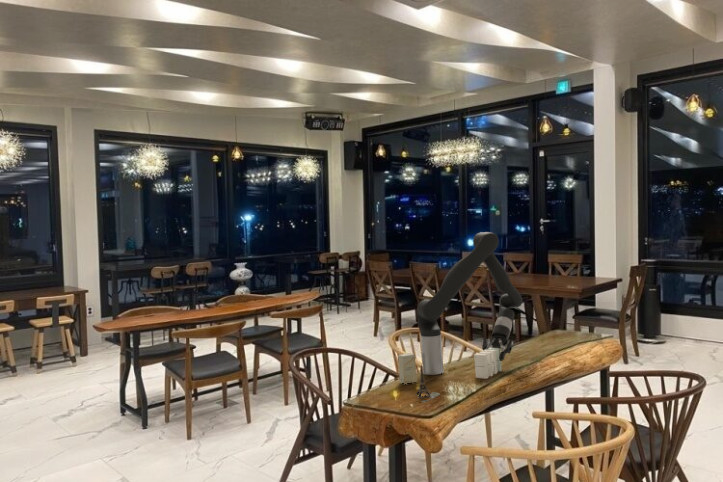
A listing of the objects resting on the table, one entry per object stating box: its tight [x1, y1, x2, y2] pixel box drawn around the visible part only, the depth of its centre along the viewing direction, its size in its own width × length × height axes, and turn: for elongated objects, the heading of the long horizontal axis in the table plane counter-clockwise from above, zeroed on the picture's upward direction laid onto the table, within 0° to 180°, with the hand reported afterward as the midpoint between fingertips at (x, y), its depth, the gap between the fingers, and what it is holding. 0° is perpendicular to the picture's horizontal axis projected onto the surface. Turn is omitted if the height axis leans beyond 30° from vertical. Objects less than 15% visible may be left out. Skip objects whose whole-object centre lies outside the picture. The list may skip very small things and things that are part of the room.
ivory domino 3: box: [483, 350, 498, 375], centre depth 248 cm, size 2×5×10 cm, turn 52°
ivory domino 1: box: [473, 353, 490, 379], centre depth 241 cm, size 2×5×10 cm, turn 52°
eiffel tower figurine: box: [415, 364, 441, 403], centre depth 220 cm, size 15×10×13 cm
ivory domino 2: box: [478, 351, 494, 377], centre depth 245 cm, size 2×5×10 cm, turn 52°
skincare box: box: [397, 352, 418, 385], centre depth 242 cm, size 6×4×12 cm
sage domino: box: [488, 348, 503, 373], centre depth 252 cm, size 2×5×10 cm, turn 53°
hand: (493, 359), depth 251 cm, fingers open, 6 cm apart
